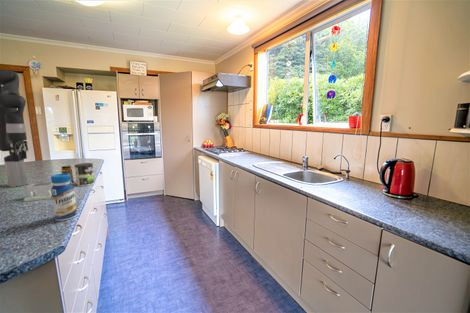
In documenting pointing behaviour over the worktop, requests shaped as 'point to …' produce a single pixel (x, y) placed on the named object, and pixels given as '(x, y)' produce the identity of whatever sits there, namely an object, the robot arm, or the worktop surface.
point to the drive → (39, 189)
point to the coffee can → (84, 174)
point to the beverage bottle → (63, 197)
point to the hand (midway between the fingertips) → (20, 160)
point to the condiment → (67, 171)
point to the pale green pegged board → (38, 197)
